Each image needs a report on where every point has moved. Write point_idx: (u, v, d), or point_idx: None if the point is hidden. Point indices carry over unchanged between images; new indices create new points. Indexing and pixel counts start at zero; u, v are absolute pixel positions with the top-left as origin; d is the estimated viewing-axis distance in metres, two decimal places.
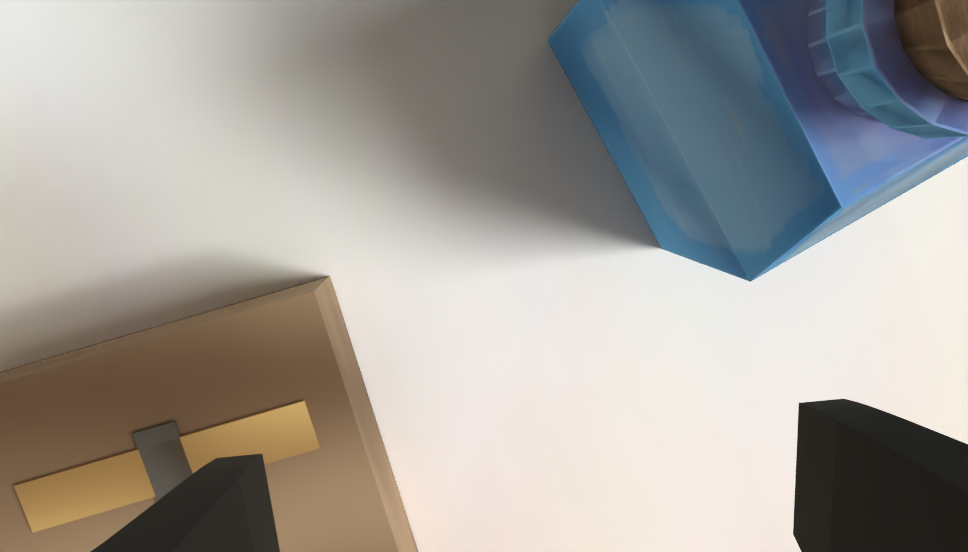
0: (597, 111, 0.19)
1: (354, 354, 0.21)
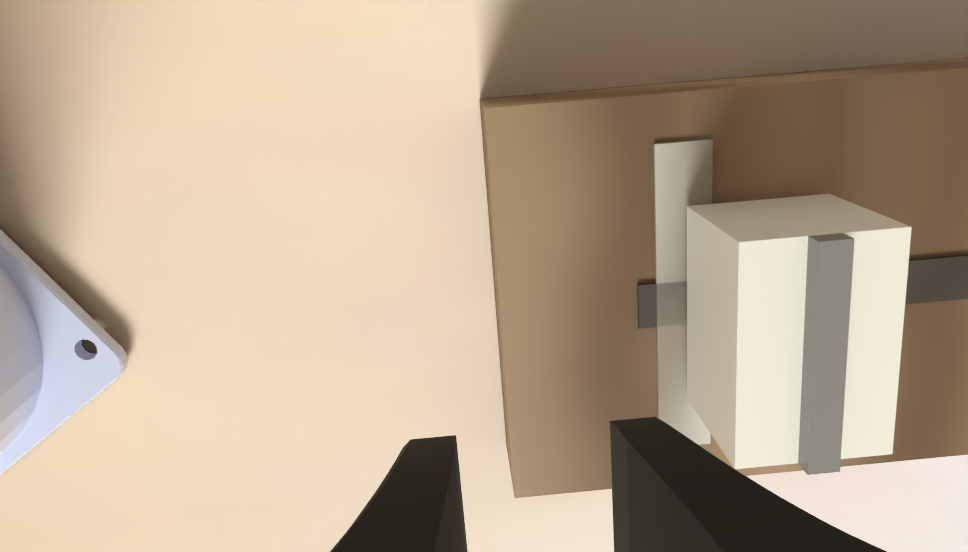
0: None
1: None
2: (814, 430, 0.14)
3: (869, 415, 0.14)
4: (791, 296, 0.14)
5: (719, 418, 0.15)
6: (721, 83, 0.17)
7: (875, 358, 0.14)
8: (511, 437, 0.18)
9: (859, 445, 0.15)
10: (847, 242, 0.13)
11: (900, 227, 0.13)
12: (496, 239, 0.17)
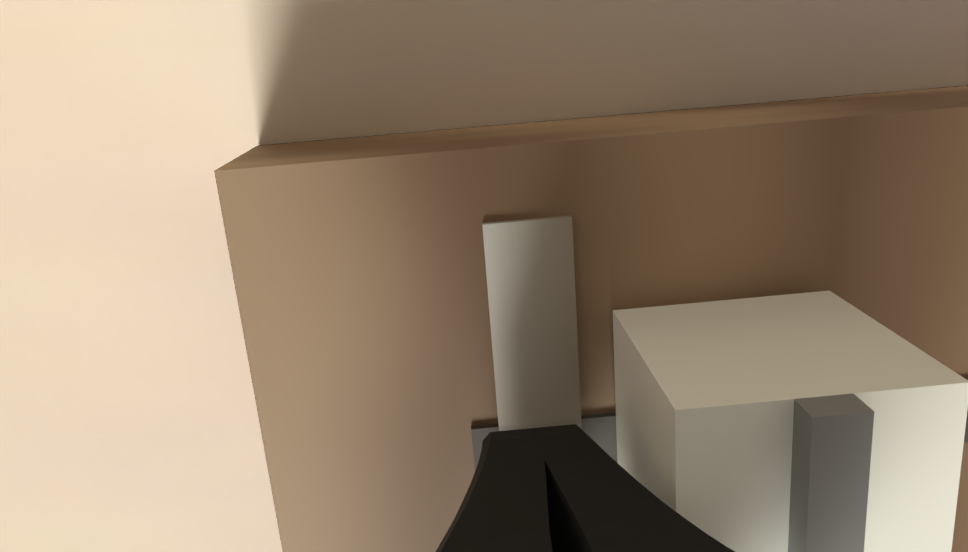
0: None
1: None
2: None
3: None
4: (766, 494, 0.08)
5: None
6: (596, 127, 0.11)
7: None
8: None
9: None
10: (861, 417, 0.08)
11: (951, 383, 0.08)
12: (252, 364, 0.11)
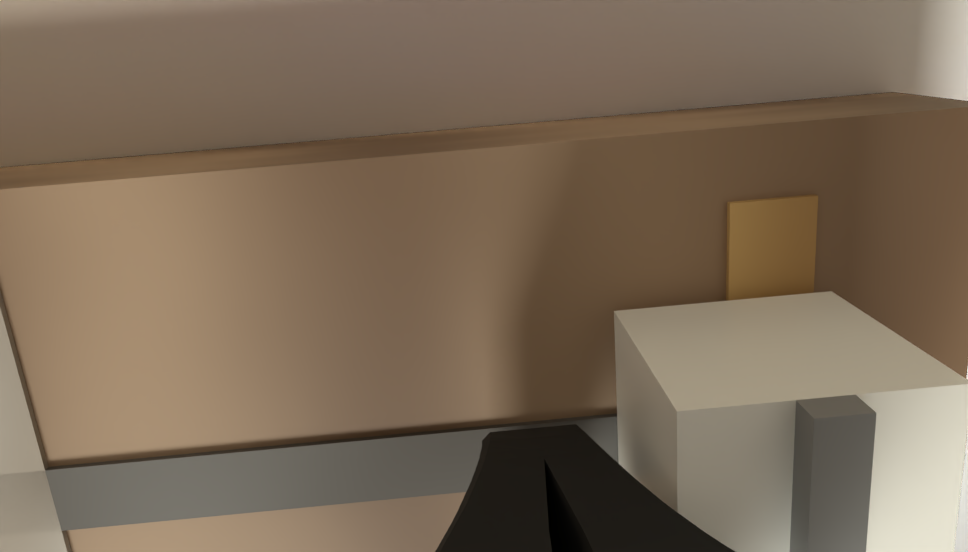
0: None
1: None
2: None
3: None
4: (767, 496, 0.08)
5: None
6: (62, 172, 0.11)
7: None
8: None
9: None
10: (863, 418, 0.07)
11: (953, 384, 0.08)
12: None
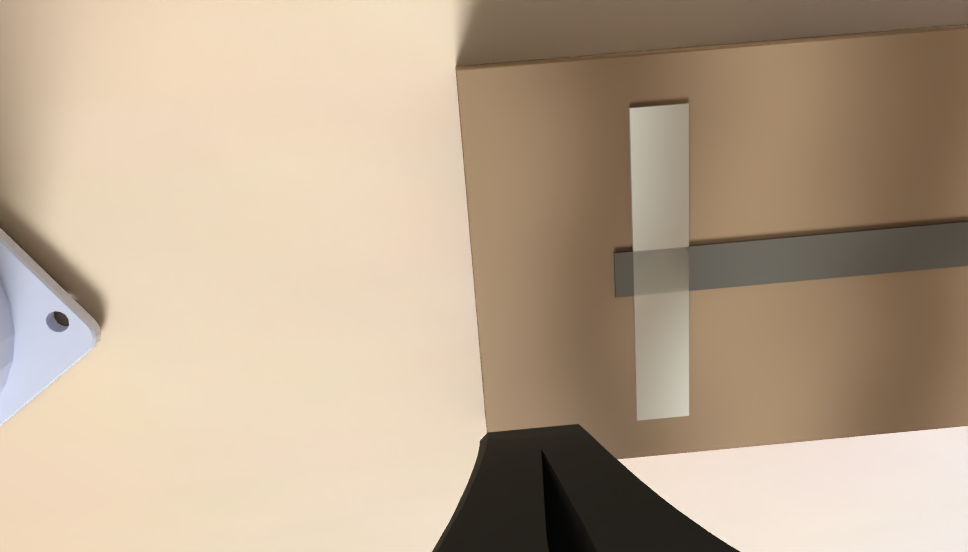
0: None
1: None
2: None
3: None
4: None
5: None
6: (699, 48, 0.17)
7: None
8: (487, 409, 0.18)
9: None
10: None
11: None
12: (470, 206, 0.16)
